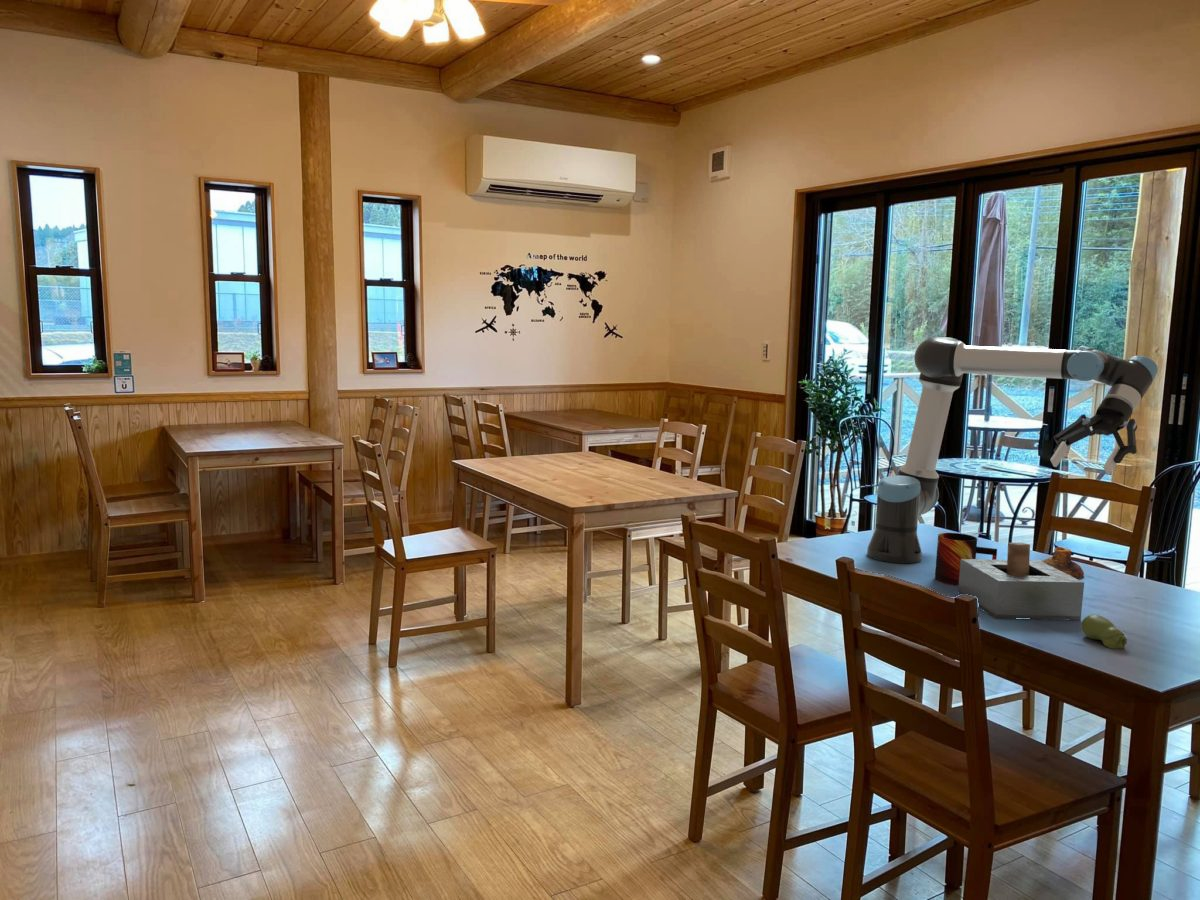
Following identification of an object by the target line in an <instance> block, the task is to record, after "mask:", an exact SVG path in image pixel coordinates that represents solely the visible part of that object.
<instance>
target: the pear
mask: <svg viewBox="0 0 1200 900" xmlns="http://www.w3.org/2000/svg"><path fill="white" fill-rule="evenodd" d="M1080 626H1081V631H1082V634H1083V635H1084V636H1086V637H1087V638H1088V639H1091V640H1097V641H1098V640H1099V641H1101V642H1102V644H1103V646H1105V647H1107V648H1109V649H1113V650H1114V649H1115V650H1117V649H1118V650H1119V649H1125V646H1126V645H1127V644H1128V642H1127V641H1128V639H1127V637H1126V636H1125V634H1124V633H1123V631H1121V630H1120V629H1118V628H1117V627H1116V626H1115V624H1114V623H1113V622H1112V621H1111V620H1109V619H1107V618H1106V617H1104V616H1102V615H1099V614H1088V615H1087V616H1085V617H1084V618H1083V619H1082V621H1081V625H1080Z"/></svg>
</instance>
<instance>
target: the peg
mask: <svg viewBox="0 0 1200 900" xmlns="http://www.w3.org/2000/svg"><path fill="white" fill-rule="evenodd" d="M1030 552H1031V544H1030V543H1024V542H1008V543H1007V559H1006V560H1007V574H1008V575H1018V576H1029V560H1030V559H1031V558H1030V557H1031V556H1030V554H1031V553H1030Z"/></svg>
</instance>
